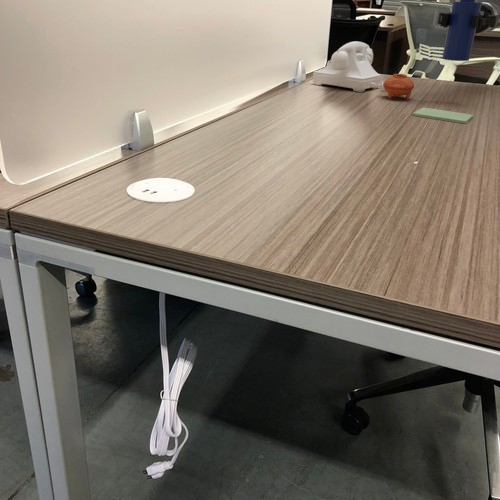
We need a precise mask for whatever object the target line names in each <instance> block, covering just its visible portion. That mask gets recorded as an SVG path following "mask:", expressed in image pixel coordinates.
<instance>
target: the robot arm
mask: <svg viewBox="0 0 500 500" xmlns="http://www.w3.org/2000/svg"><path fill="white" fill-rule="evenodd" d="M476 2H479V3H482V4H481V9H480V13H479V15H475V16H474V17H473V21H472V26H471V28H476V32H475V35H477V36H480V35H481V34H482V33H485V32H492V31H494V30H496V29H497V28H499V27H500V0H476ZM450 15H451V11H449V12H439V13H438V18H437V24H438V25H440V27H442V28H446V29H448V25H449V20H450Z"/></svg>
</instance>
